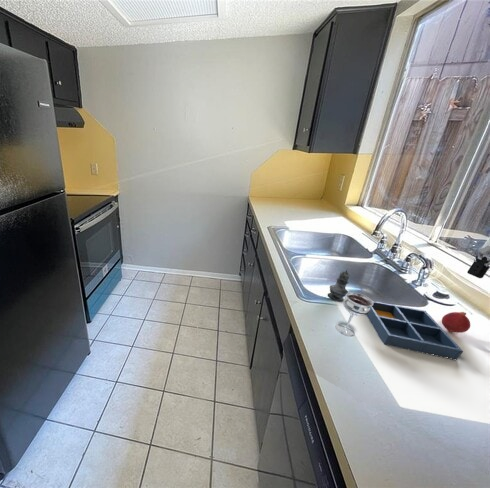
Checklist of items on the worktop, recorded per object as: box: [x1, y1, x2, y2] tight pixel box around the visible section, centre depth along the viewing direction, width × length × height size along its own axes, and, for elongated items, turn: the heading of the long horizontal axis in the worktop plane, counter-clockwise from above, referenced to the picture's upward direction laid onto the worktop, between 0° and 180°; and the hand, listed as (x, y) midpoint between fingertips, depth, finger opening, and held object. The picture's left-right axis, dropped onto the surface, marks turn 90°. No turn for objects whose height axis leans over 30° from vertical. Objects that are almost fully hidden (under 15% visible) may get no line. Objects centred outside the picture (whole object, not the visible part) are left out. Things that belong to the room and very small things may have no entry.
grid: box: [365, 300, 464, 361], centre depth 80 cm, size 17×17×4 cm
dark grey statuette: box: [327, 269, 351, 303], centre depth 92 cm, size 6×6×12 cm
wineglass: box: [335, 291, 374, 337], centre depth 77 cm, size 7×7×12 cm
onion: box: [441, 311, 471, 334], centre depth 80 cm, size 6×6×8 cm
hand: (486, 274), depth 75 cm, fingers open, 9 cm apart
